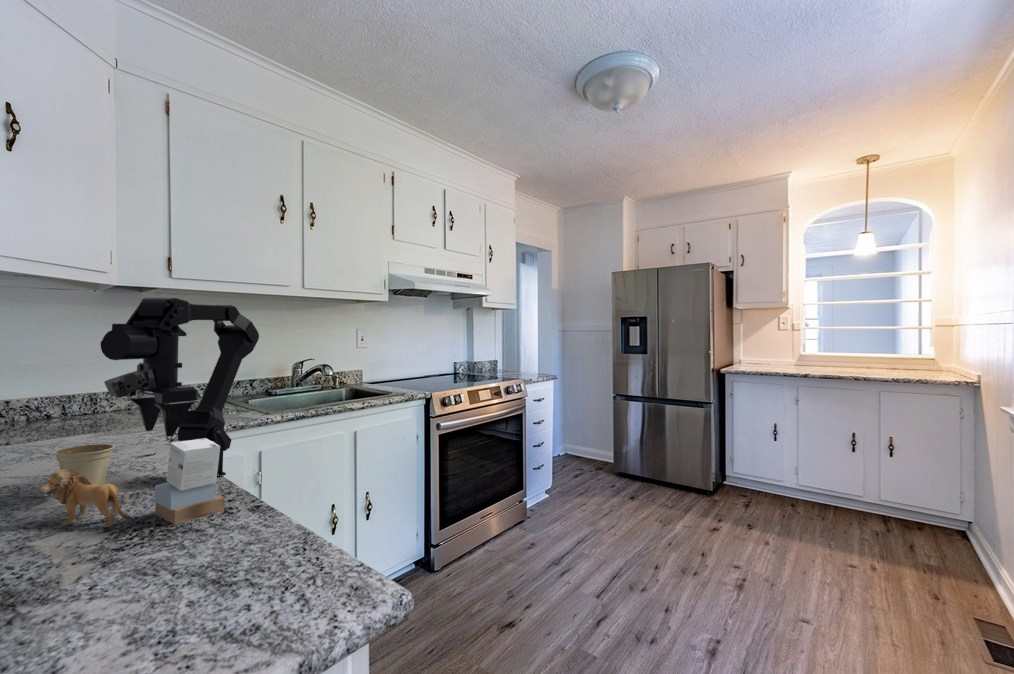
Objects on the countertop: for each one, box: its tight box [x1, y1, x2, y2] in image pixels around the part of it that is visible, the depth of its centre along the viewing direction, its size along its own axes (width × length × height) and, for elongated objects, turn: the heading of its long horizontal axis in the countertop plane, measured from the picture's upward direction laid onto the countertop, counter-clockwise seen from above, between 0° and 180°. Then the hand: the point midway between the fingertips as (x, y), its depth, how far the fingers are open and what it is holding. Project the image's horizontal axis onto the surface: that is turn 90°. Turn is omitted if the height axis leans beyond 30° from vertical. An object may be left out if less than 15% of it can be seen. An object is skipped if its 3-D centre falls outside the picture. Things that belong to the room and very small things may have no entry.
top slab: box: [154, 482, 216, 510], centre depth 81 cm, size 7×7×3 cm
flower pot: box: [53, 443, 116, 485], centre depth 94 cm, size 9×9×9 cm
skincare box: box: [166, 438, 220, 491], centre depth 81 cm, size 6×6×7 cm
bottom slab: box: [155, 493, 225, 526], centre depth 82 cm, size 8×8×3 cm
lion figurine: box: [39, 469, 133, 528], centre depth 77 cm, size 15×5×9 cm, turn 91°
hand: (159, 433), depth 91 cm, fingers open, 9 cm apart
